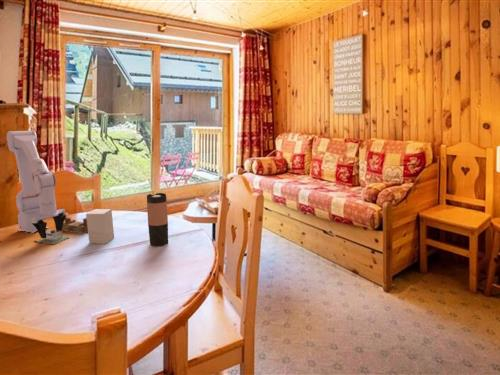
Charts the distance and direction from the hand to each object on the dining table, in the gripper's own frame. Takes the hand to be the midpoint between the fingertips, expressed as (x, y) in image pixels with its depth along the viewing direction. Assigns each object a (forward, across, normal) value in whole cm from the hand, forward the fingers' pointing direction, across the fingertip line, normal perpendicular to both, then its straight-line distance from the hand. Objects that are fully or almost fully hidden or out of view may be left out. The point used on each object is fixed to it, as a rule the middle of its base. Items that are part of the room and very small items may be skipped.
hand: (51, 234), depth 142 cm
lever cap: (+2, 0, 0) cm, 2 cm away
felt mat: (+2, 0, 0) cm, 2 cm away
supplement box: (+2, +6, -20) cm, 21 cm away
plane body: (+2, +13, 0) cm, 13 cm away
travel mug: (+2, +11, -44) cm, 45 cm away
